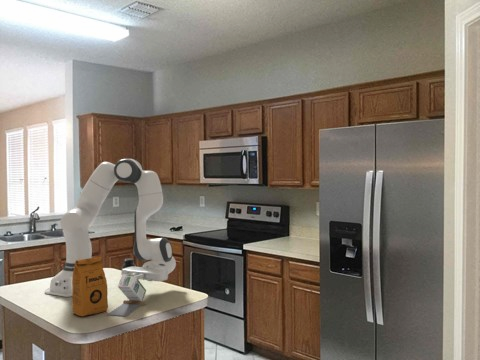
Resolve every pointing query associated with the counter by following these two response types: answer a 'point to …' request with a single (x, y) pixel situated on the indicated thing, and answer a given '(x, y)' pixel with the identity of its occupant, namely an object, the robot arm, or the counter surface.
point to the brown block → (134, 302)
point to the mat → (124, 310)
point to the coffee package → (89, 287)
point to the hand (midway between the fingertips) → (132, 278)
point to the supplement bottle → (128, 263)
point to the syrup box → (132, 287)
